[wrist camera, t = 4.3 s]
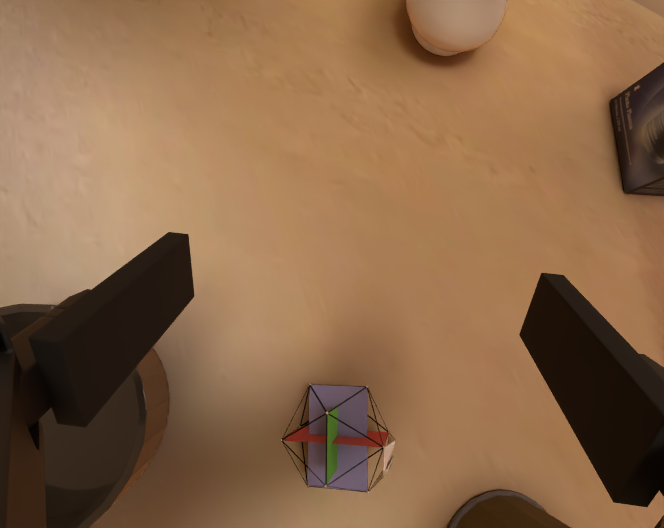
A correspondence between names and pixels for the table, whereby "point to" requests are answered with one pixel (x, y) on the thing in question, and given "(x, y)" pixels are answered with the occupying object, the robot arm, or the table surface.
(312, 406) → the geometric puzzle
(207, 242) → the table surface
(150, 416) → the round brown bowl
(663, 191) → the small box
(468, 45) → the flower vase
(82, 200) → the table surface
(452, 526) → the canister
